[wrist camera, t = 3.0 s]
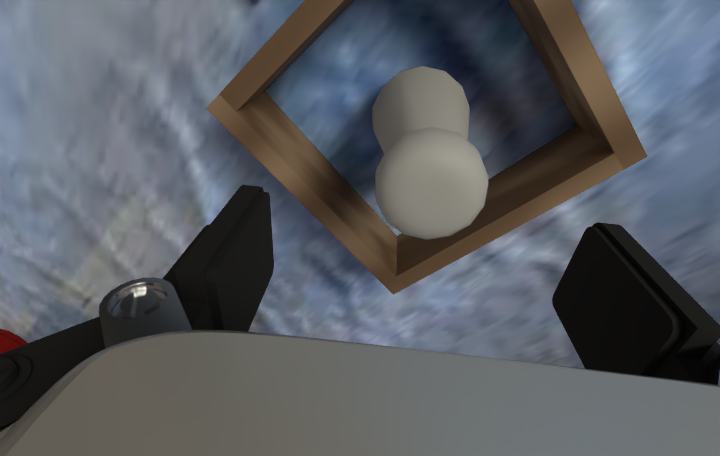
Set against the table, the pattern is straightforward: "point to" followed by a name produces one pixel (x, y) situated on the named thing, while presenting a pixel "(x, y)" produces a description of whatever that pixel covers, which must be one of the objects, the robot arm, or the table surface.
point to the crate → (505, 190)
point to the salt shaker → (426, 155)
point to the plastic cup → (9, 341)
